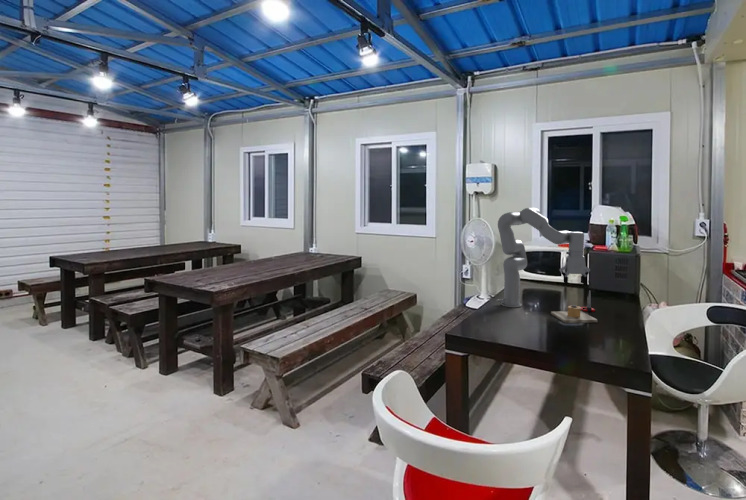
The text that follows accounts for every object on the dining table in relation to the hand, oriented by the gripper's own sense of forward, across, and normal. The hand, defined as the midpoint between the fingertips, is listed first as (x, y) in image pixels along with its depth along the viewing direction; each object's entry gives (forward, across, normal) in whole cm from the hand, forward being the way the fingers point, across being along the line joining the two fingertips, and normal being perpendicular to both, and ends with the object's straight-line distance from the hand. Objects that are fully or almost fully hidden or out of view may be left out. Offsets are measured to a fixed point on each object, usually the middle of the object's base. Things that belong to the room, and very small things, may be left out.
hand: (574, 283), depth 241 cm
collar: (+19, 0, -1) cm, 19 cm away
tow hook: (+21, +17, +16) cm, 32 cm away
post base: (+20, 0, -1) cm, 20 cm away
